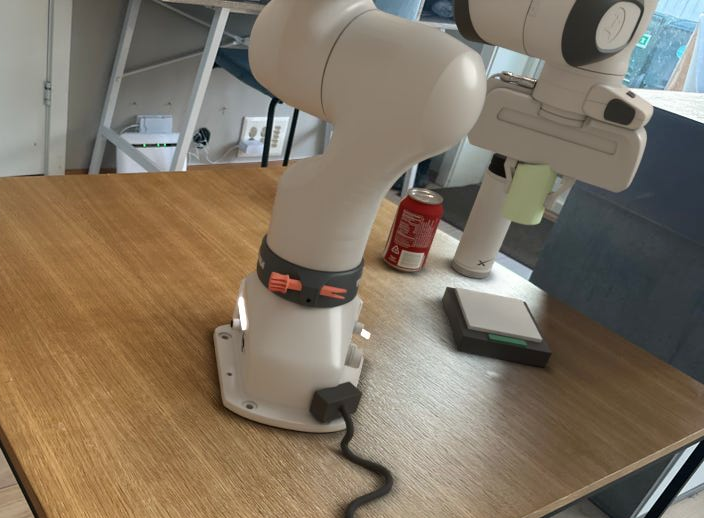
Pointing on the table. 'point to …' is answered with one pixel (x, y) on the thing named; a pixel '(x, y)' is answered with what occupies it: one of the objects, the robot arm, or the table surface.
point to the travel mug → (484, 224)
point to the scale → (494, 327)
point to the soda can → (413, 230)
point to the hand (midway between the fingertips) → (528, 200)
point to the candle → (528, 193)
